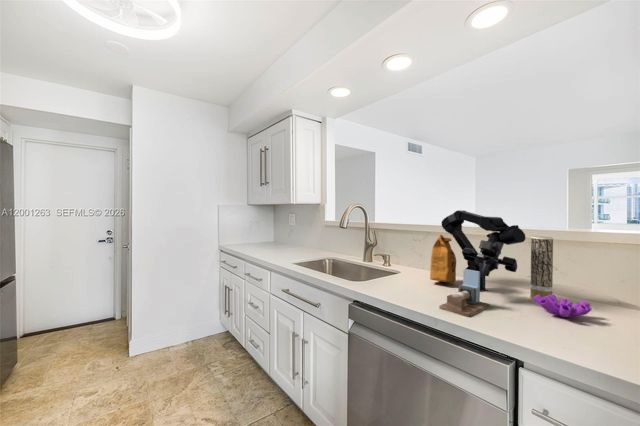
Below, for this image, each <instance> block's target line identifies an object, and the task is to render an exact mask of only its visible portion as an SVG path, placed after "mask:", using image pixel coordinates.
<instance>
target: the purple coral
mask: <svg viewBox="0 0 640 426" xmlns="http://www.w3.org/2000/svg"><path fill="white" fill-rule="evenodd" d="M532 299H533V300H534V301H535V303H536V304H537V305H539V306H540V307H541V308H543V309H544V310H545V311H546V312H548V313H550V314H553V315H556V316H558V317H561V318H562V317H563V318H575V317H583V316H585V315H587V314H589V313H590V312H591V311H592V309H593V308H592V307H591V304H590V303H589V302H587V301H586V300H582V301H580V302H579V303H577V302H575V304H574V305H573V302H570V301H568V299H567V298H563V297H562V298H560V302H559V301H558V298H557V296H556V295H555V294H552V295H548V296H545V297H541V296H540V295H536V296H534V297H533V298H532Z"/></svg>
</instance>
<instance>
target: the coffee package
mask: <svg viewBox="0 0 640 426" xmlns="http://www.w3.org/2000/svg"><path fill="white" fill-rule="evenodd" d="M450 242H452V238H451V237H445V236H444V235H443V234H439V236H438V238H437V239H436V241H435V242H434V244H433V246H432V248H431V249H432V250H431V257H430V273H429V274H430V275H429V280H431V281H436V282H444V283H453V284H454V283H455V282H456V280H457V279H456V278H457V277H456V275H457V273H456V271H457V258H456V257H457V256H456V254H455V252H454V251H453V248H452V247H451V243H450Z"/></svg>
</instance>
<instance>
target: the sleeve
mask: <svg viewBox="0 0 640 426" xmlns="http://www.w3.org/2000/svg"><path fill="white" fill-rule="evenodd" d="M462 272H463V276H462V277H463V278H462V279H463V280H462V281H463V282H462V284H461V285H463V286H468V287H472V288H476V303H477V302H479V301H480V300H481V299H480V298H481V297H480V295H481V291H480V271H474V270H468V269H466V268H463V271H462ZM465 290H466V289H463V291H465ZM468 299H470V300H471V297H470V298H468ZM480 302H481V301H480Z"/></svg>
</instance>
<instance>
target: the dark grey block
mask: <svg viewBox="0 0 640 426" xmlns="http://www.w3.org/2000/svg"><path fill="white" fill-rule="evenodd" d="M457 288H458V292H462V291H463V289H466V290H471V300H470V299H466V302H468V303H471V304H475V303H476V288H472V287H468V286H463V285H462V284H459V285H458V287H457ZM458 292H457V293H458Z"/></svg>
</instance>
